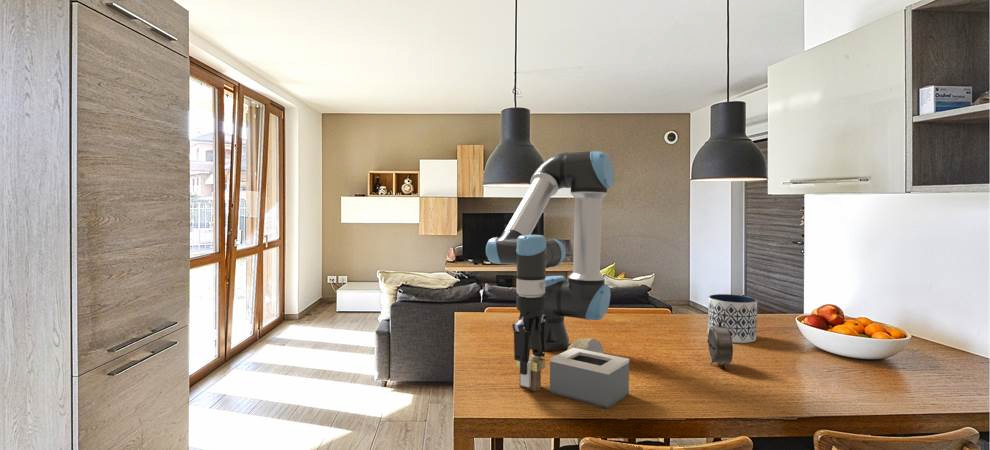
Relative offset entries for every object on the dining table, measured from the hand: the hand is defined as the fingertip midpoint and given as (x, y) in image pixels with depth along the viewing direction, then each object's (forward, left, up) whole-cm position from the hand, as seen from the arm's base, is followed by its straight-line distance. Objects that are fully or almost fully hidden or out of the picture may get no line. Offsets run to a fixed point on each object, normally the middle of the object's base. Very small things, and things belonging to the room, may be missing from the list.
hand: (530, 383), depth 134 cm
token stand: (0, 0, -1) cm, 1 cm away
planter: (+29, +86, -1) cm, 91 cm away
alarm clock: (+34, +50, -1) cm, 60 cm away
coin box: (+14, +6, -1) cm, 15 cm away
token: (0, 0, +4) cm, 4 cm away
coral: (+4, +23, -1) cm, 23 cm away
